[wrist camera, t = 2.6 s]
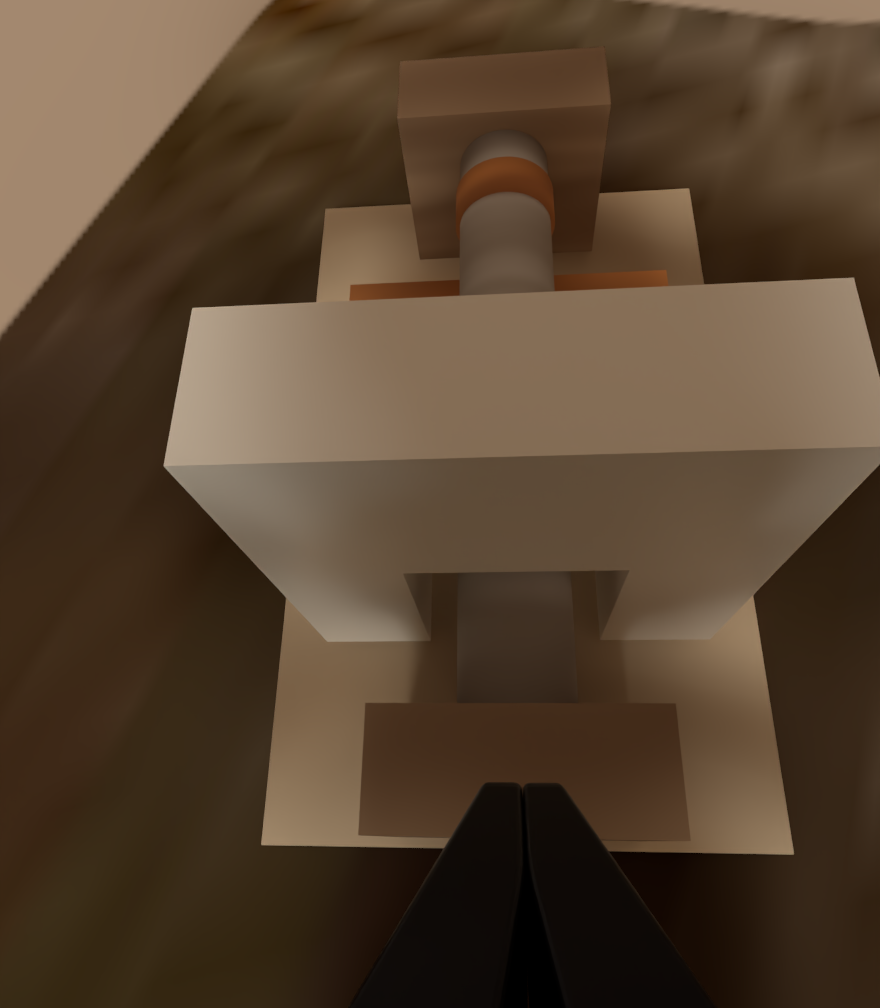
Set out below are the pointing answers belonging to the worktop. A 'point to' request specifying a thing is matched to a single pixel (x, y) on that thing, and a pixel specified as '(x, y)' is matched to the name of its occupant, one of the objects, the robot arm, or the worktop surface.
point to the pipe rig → (519, 595)
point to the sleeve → (529, 444)
